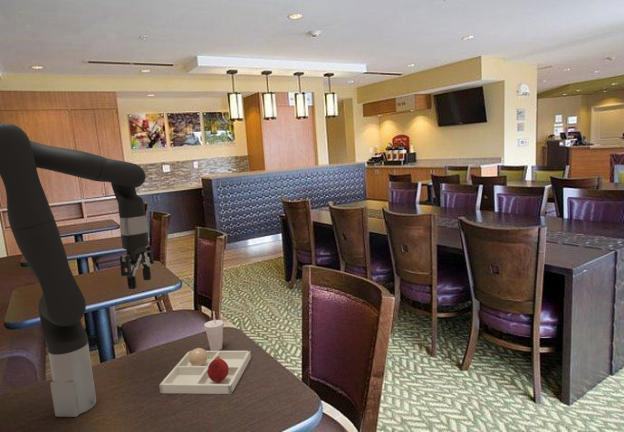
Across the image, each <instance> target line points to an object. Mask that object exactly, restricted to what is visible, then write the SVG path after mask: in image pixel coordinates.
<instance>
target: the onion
mask: <svg viewBox="0 0 624 432" xmlns="http://www.w3.org/2000/svg"><path fill="white" fill-rule="evenodd" d="M207 373H208V376H209V378H210V379H211V380H212V381H214V382H217V383H220V382H222V381H223V380H224V379H225V378H226V376H227V375H228V365H227V363H226V362H225V361H224V360H222V359H220V357H219V356H218V355H217V356H216V357H215V359H214V360H213V361H212V362H211V363H210V364H209V366H208V372H207Z"/></svg>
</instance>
